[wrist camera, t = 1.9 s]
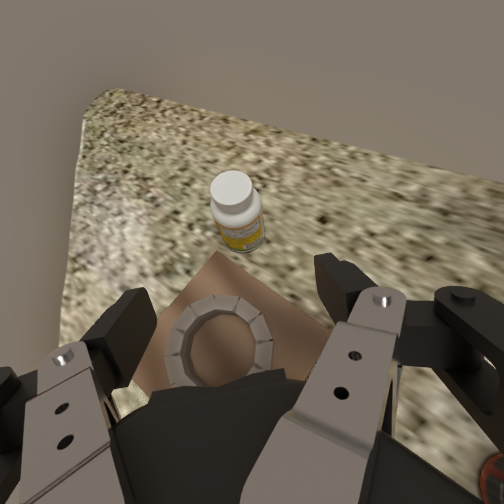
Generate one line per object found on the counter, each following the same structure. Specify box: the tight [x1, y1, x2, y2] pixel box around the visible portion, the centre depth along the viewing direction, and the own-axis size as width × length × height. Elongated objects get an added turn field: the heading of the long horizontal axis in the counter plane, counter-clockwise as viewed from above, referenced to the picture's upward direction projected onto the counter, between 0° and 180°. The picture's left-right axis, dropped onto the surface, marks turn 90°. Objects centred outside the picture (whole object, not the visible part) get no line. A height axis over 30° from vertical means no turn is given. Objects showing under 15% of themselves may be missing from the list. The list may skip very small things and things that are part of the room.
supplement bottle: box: [210, 171, 265, 253], centre depth 28 cm, size 5×5×10 cm
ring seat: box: [132, 251, 332, 398], centre depth 25 cm, size 16×16×4 cm
